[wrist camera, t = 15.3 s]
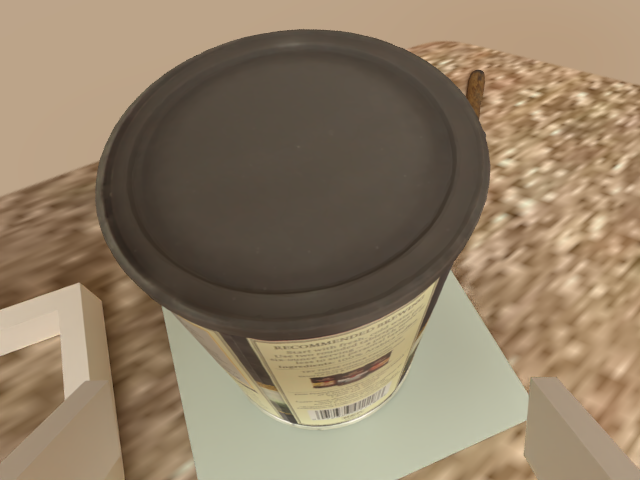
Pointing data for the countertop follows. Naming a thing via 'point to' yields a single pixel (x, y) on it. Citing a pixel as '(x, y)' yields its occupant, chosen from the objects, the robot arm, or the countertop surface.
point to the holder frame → (65, 339)
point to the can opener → (476, 90)
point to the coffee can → (298, 211)
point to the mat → (370, 433)
